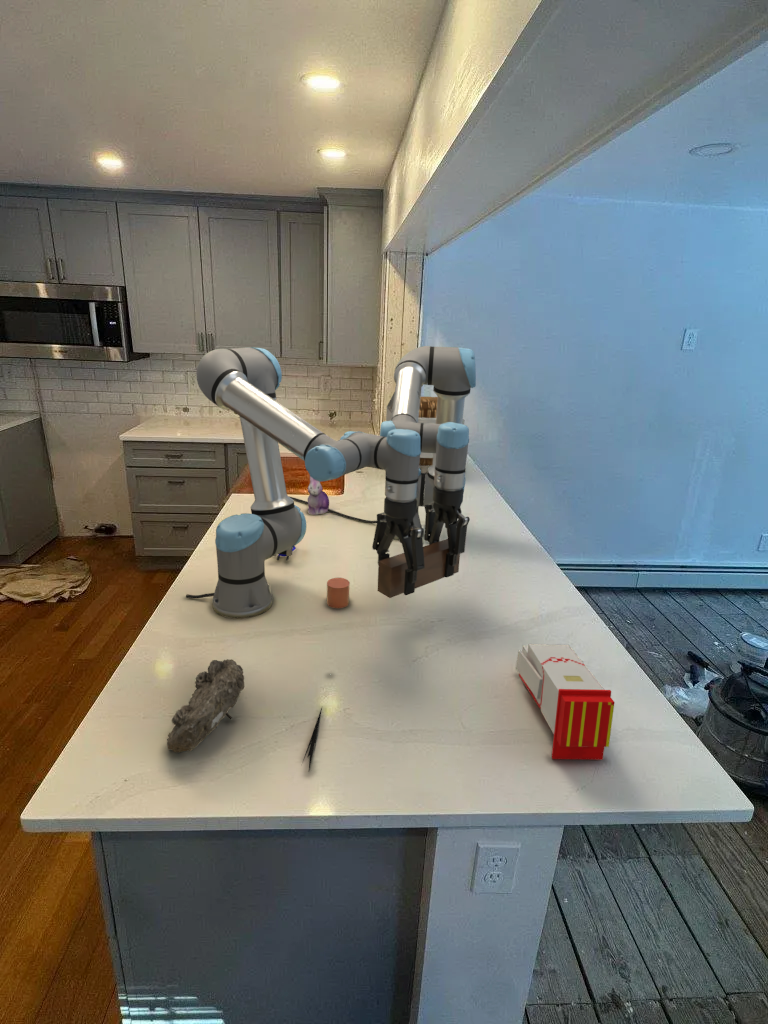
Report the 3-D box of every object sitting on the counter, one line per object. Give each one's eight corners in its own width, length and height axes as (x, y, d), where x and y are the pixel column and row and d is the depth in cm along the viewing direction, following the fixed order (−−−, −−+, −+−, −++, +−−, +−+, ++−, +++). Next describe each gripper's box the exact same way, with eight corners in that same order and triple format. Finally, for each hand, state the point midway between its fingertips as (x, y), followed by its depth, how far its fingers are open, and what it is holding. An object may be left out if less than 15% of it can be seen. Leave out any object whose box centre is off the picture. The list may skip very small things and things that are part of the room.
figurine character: (292, 567, 173) (298, 543, 187) (292, 546, 170) (298, 523, 183) (270, 567, 173) (278, 542, 187) (269, 545, 170) (277, 522, 183)
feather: (331, 679, 122) (336, 673, 122) (307, 777, 96) (313, 769, 95) (324, 675, 122) (329, 669, 121) (298, 772, 95) (304, 764, 95)
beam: (377, 590, 137) (378, 560, 135) (445, 565, 152) (448, 538, 149) (389, 598, 134) (391, 567, 131) (458, 572, 149) (461, 544, 146)
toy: (564, 626, 126) (624, 698, 97) (558, 682, 129) (615, 767, 100) (510, 625, 126) (554, 696, 96) (506, 681, 128) (547, 766, 99)
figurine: (311, 517, 211) (311, 478, 206) (301, 508, 220) (301, 471, 215) (334, 513, 216) (335, 476, 211) (324, 505, 224) (324, 469, 219)
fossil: (192, 660, 117) (244, 628, 112) (224, 691, 120) (276, 661, 115) (142, 746, 98) (202, 712, 93) (182, 779, 101) (242, 748, 96)
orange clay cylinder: (322, 601, 152) (322, 581, 150) (340, 595, 156) (340, 575, 154) (335, 610, 148) (335, 590, 146) (353, 604, 151) (354, 583, 149)
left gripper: (359, 488, 135) (356, 574, 143) (421, 514, 120) (415, 608, 128) (382, 483, 140) (379, 566, 148) (446, 507, 125) (438, 598, 132)
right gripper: (413, 480, 144) (407, 563, 152) (465, 499, 131) (456, 588, 139) (433, 475, 149) (427, 557, 157) (486, 493, 136) (476, 580, 144)
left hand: (395, 585), depth 138 cm, fingers open, 9 cm apart
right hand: (441, 571), depth 148 cm, fingers closed on beam, 5 cm apart
